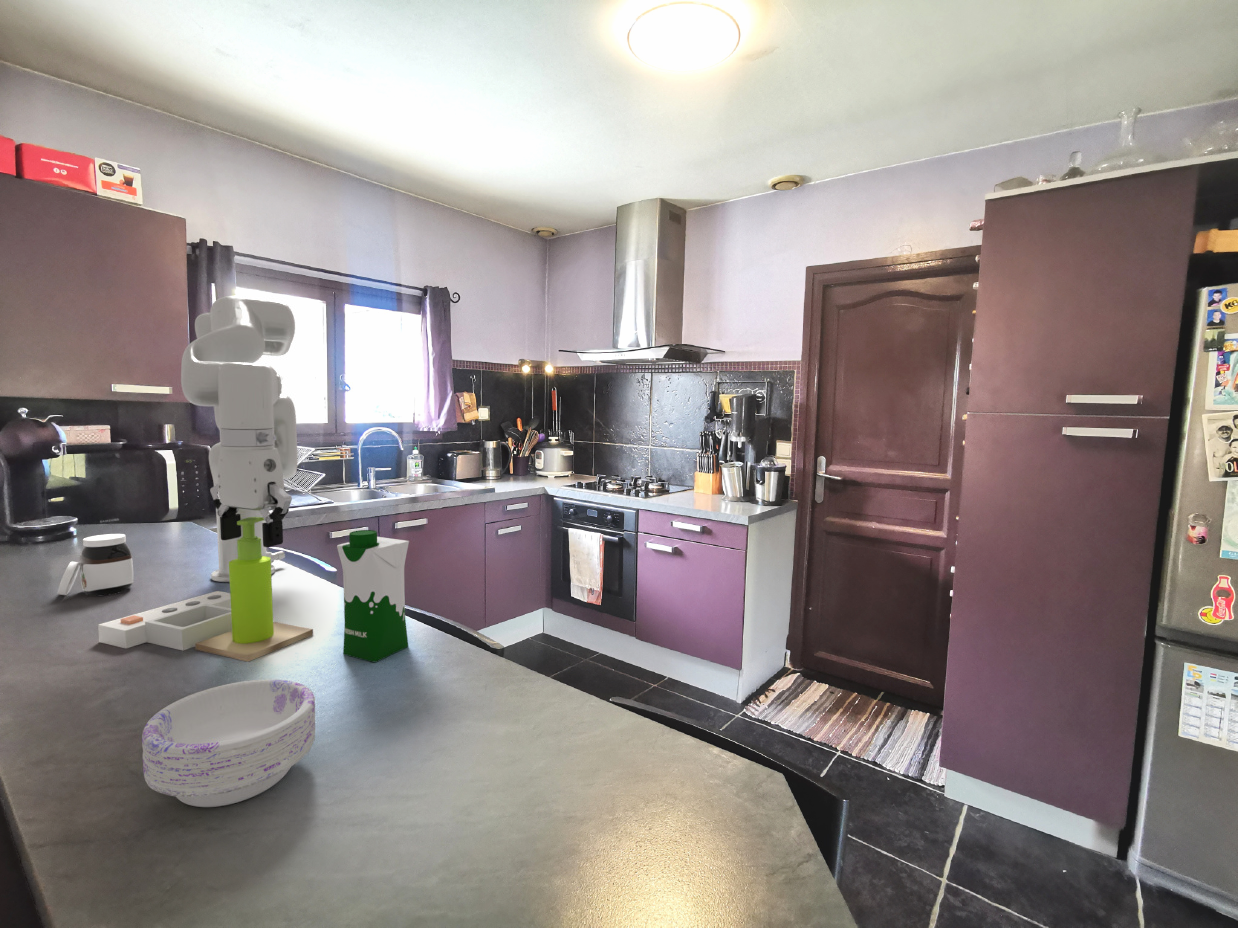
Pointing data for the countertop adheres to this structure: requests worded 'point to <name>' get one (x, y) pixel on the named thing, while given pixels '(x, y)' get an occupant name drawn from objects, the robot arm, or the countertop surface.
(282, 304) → the robot arm
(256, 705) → the paper bowls
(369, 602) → the milk carton
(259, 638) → the soap dispenser
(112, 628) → the white holder tray
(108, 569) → the spread jar
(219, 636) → the oak board
